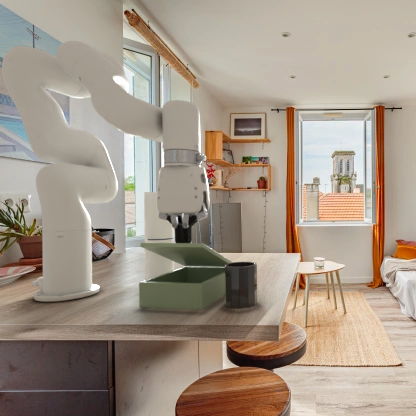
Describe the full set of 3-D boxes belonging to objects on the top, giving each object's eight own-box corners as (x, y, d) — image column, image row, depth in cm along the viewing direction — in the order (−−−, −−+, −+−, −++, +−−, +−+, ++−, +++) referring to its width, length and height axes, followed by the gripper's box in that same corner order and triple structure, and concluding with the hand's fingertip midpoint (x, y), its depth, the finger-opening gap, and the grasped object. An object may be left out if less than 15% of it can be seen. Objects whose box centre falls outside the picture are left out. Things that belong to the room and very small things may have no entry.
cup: (220, 311, 65) (219, 266, 65) (232, 302, 72) (232, 261, 72) (250, 312, 64) (250, 267, 64) (260, 303, 71) (260, 261, 71)
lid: (202, 247, 64) (203, 243, 65) (140, 246, 66) (141, 242, 67) (235, 267, 81) (235, 264, 82) (184, 266, 83) (185, 263, 84)
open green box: (202, 313, 64) (201, 284, 64) (139, 310, 66) (139, 282, 66) (235, 290, 82) (235, 267, 82) (185, 288, 84) (184, 266, 84)
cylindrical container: (162, 288, 84) (162, 191, 84) (138, 287, 85) (138, 192, 85) (179, 282, 91) (178, 193, 91) (156, 281, 92) (156, 193, 92)
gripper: (222, 162, 72) (223, 244, 72) (160, 164, 75) (162, 244, 75) (206, 157, 65) (208, 248, 65) (138, 159, 67) (140, 248, 67)
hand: (183, 246), depth 70 cm, fingers closed
